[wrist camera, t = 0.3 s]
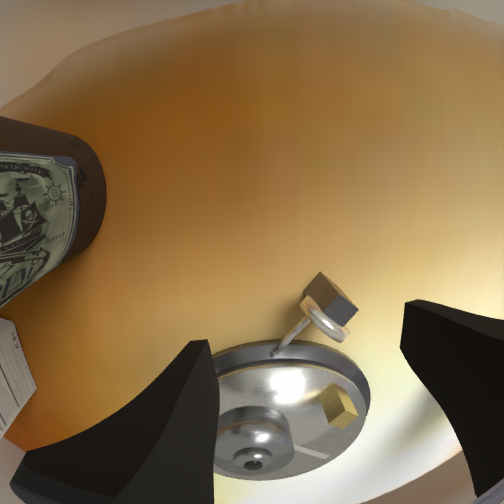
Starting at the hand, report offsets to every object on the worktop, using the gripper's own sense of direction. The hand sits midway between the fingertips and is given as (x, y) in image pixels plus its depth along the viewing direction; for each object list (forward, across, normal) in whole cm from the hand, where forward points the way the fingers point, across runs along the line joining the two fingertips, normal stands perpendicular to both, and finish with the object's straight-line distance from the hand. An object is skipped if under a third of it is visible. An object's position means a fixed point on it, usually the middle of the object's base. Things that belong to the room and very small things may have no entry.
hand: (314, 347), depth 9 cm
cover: (+8, +4, +14) cm, 16 cm away
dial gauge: (+10, -1, +4) cm, 11 cm away
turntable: (+9, +2, +15) cm, 18 cm away
